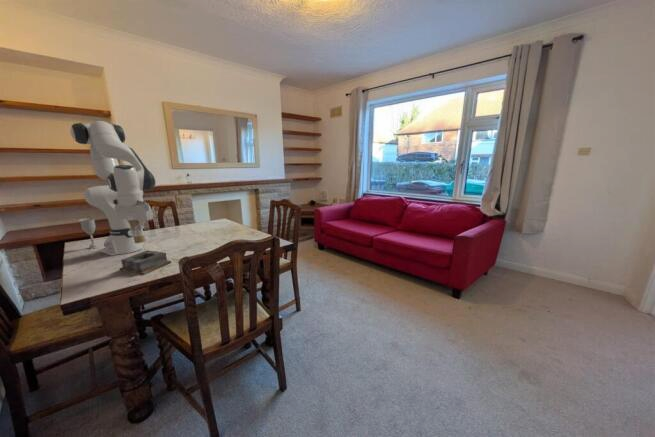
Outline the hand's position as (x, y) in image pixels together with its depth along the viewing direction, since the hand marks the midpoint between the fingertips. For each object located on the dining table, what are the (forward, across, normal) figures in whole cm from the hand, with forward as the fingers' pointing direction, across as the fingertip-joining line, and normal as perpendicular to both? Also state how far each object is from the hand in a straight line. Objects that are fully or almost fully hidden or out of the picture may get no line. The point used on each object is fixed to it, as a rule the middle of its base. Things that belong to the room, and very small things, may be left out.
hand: (137, 228), depth 121 cm
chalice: (+20, +60, -11) cm, 64 cm away
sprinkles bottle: (+7, -1, 0) cm, 7 cm away
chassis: (+20, 0, 0) cm, 20 cm away
